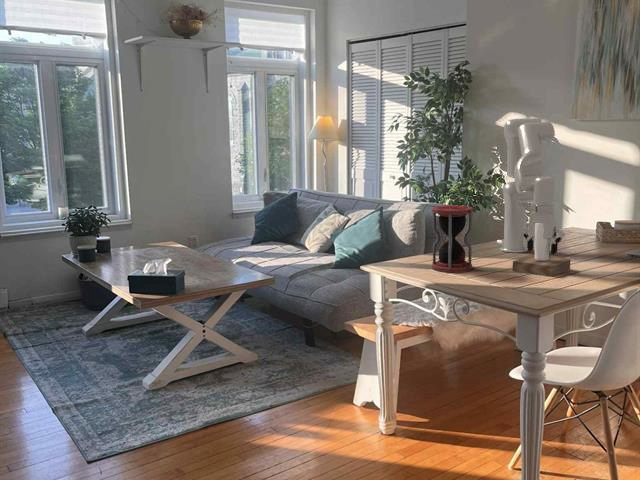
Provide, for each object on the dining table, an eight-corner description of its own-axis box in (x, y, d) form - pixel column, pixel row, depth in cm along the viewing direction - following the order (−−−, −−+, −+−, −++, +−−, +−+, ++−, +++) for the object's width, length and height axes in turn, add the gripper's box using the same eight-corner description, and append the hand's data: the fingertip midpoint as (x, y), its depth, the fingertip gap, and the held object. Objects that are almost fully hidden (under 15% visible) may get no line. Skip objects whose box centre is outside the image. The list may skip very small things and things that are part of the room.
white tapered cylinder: (550, 258, 249) (551, 221, 247) (550, 262, 243) (552, 223, 241) (532, 258, 252) (533, 221, 249) (532, 261, 245) (533, 223, 243)
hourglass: (470, 273, 246) (471, 210, 241) (428, 271, 251) (429, 209, 246) (473, 265, 261) (474, 205, 256) (434, 263, 266) (435, 204, 261)
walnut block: (512, 270, 248) (512, 260, 248) (532, 264, 259) (532, 254, 259) (551, 276, 237) (551, 266, 236) (570, 269, 248) (570, 259, 247)
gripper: (518, 208, 247) (516, 250, 250) (560, 211, 235) (558, 256, 238) (527, 206, 253) (526, 248, 256) (569, 209, 240) (567, 253, 243)
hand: (541, 252), depth 247 cm, fingers open, 9 cm apart
